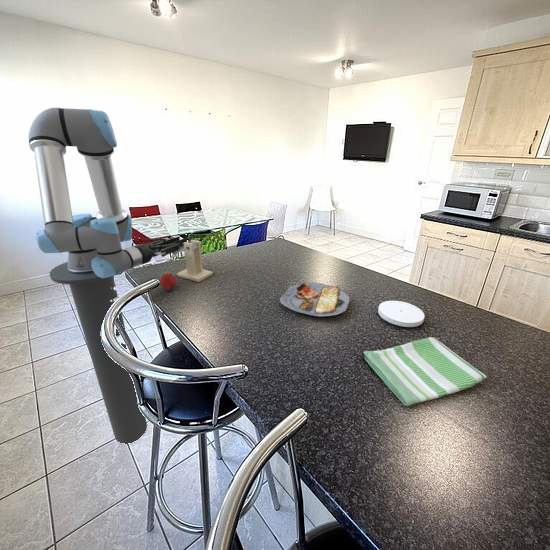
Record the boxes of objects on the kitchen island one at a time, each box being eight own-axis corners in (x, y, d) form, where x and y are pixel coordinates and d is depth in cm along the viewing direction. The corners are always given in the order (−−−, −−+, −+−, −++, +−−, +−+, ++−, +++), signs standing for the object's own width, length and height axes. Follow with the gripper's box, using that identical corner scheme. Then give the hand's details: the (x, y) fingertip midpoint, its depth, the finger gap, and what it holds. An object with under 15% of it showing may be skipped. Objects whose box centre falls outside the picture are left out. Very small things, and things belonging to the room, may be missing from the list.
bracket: (177, 275, 123) (172, 242, 117) (192, 268, 130) (188, 237, 124) (198, 282, 118) (195, 247, 112) (213, 274, 125) (210, 241, 119)
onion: (158, 291, 110) (154, 272, 107) (170, 286, 114) (167, 267, 111) (168, 295, 107) (165, 276, 104) (180, 289, 112) (178, 270, 108)
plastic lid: (368, 310, 100) (369, 304, 99) (400, 304, 105) (402, 297, 104) (398, 333, 88) (399, 326, 87) (432, 324, 93) (434, 318, 92)
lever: (170, 255, 125) (167, 247, 124) (176, 253, 128) (173, 245, 127) (193, 251, 117) (190, 242, 116) (199, 248, 120) (196, 240, 119)
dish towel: (360, 356, 78) (361, 348, 77) (430, 341, 85) (432, 333, 84) (406, 409, 63) (408, 399, 62) (487, 386, 69) (491, 377, 68)
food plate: (294, 283, 119) (294, 275, 118) (352, 293, 112) (353, 285, 110) (272, 312, 98) (272, 303, 96) (342, 328, 90) (343, 318, 89)
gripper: (124, 261, 115) (170, 245, 133) (153, 269, 107) (197, 251, 126) (120, 242, 112) (167, 229, 130) (150, 250, 104) (196, 234, 123)
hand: (182, 240), depth 128 cm, fingers open, 4 cm apart
